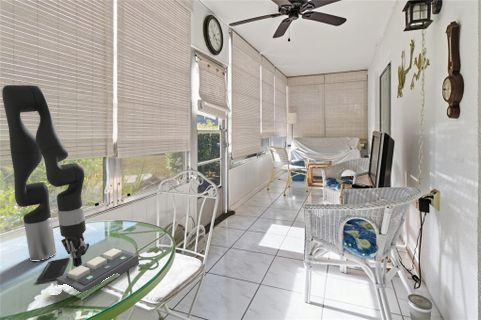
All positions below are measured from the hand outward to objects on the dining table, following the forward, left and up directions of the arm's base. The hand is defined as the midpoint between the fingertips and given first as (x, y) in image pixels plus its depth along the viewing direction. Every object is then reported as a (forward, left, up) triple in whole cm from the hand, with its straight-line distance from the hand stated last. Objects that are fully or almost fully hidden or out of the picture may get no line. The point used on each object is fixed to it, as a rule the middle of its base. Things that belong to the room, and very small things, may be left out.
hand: (77, 265), depth 93 cm
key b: (0, +7, -5) cm, 8 cm away
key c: (0, +14, -5) cm, 15 cm away
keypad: (+2, +7, -8) cm, 11 cm away
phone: (-18, +1, -8) cm, 20 cm away
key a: (0, 0, -5) cm, 5 cm away
